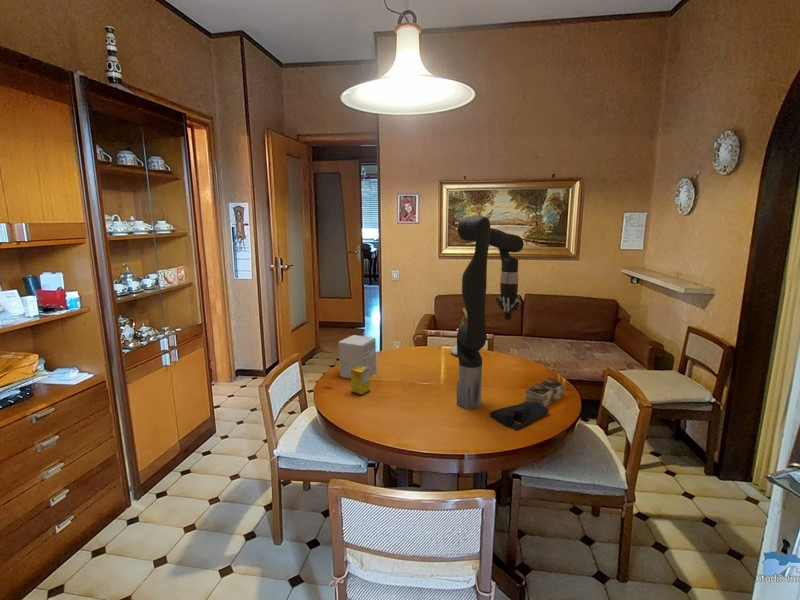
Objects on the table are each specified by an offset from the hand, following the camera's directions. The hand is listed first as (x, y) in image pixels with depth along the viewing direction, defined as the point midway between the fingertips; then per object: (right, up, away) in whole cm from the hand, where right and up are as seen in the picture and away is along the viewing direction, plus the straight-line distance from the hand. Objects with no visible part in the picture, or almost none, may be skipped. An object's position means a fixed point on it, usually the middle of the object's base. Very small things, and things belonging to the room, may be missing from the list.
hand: (507, 319), depth 193 cm
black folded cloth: (-2, -36, -26) cm, 45 cm away
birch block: (+12, -32, -12) cm, 37 cm away
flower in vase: (-15, -21, +44) cm, 51 cm away
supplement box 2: (-65, -32, -3) cm, 73 cm away
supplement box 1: (-68, -27, +17) cm, 76 cm away
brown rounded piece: (+9, -33, -15) cm, 37 cm away
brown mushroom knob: (+16, -32, -10) cm, 37 cm away
